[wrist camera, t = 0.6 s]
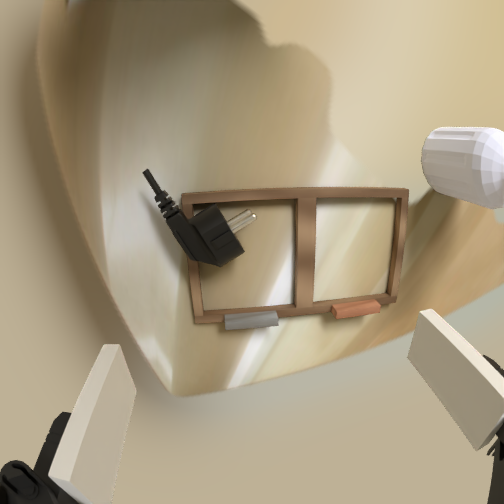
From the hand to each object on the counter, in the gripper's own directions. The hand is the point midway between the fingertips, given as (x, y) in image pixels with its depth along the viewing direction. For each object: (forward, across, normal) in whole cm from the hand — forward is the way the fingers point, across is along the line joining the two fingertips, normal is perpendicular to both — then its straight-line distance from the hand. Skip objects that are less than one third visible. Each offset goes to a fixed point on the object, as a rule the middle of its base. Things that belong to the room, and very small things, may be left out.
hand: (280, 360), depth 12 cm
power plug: (+19, -7, +8) cm, 22 cm away
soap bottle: (+22, +27, +7) cm, 36 cm away
